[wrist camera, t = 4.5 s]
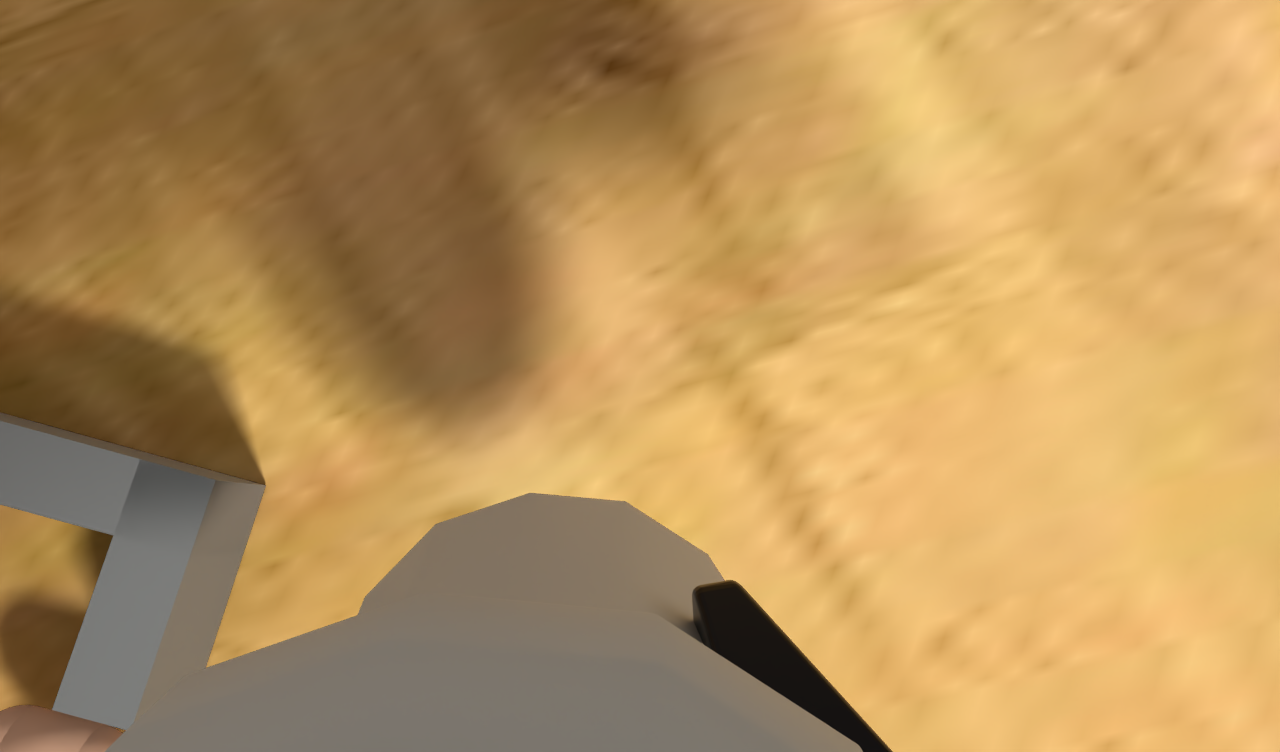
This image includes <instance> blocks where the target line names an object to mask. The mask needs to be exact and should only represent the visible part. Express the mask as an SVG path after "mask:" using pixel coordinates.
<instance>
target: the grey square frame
mask: <svg viewBox="0 0 1280 752" xmlns="http://www.w3.org/2000/svg"><path fill="white" fill-rule="evenodd" d="M265 487H266V485H263V484H259V483H255V482H252V481H248V480H244V479H241V478H237V477H233V476H230V475H226V474H223V473H219V472H215V471H212V470H208V469H204V468H201V467H197V466H193V465H190V464H186V463H183V462H179V461H175V460H172V459H168V458H164V457H161V456H157V455H153V454H150V453H146V452H143V451H139V450H135V449H132V448H128V447H124V446H121V445H117V444H113V443H110V442H106V441H103V440H99V439H95V438H92V437H88V436H84V435H81V434H77V433H73V432H70V431H66V430H63V429H59V428H55V427H52V426H48V425H44V424H41V423H37V422H33V421H30V420H26V419H22V418H19V417H15V416H12V415H8V414H4V413H1V412H0V505H4V506H8V507H11V508H15V509H19V510H22V511H26V512H30V513H33V514H37V515H40V516H44V517H48V518H51V519H55V520H59V521H62V522H66V523H70V524H73V525H77V526H81V527H84V528H88V529H92V530H95V531H99V532H103V533H106V534H110V535H113V538H112V541H111V543H110V546H109V549H108V552H107V555H106V558H105V561H104V563H103V566H102V569H101V572H100V575H99V578H98V580H97V583H96V586H95V589H94V592H93V595H92V597H91V600H90V603H89V606H88V609H87V612H86V615H85V617H84V620H83V623H82V626H81V629H80V632H79V634H78V637H77V640H76V643H75V646H74V649H73V651H72V654H71V657H70V660H69V663H68V666H67V669H66V671H65V674H64V677H63V680H62V683H61V686H60V688H59V691H58V694H57V697H56V700H55V703H54V705H53V708H52V710H54V711H58V712H61V713H65V714H69V715H72V716H76V717H80V718H83V719H87V720H91V721H94V722H98V723H102V724H105V725H109V726H113V727H116V728H120V729H124V730H127V729H128V728H129V727H130V726H131V725H133V724H134V723H135V722H136V721H137V720H138V719H139V718H140V717H141V716H142V715H143V714H144V713H146V712H147V711H148V710H149V709H150V708H151V707H152V706H153V705H154V704H155V703H156V702H157V701H159V700H160V699H161V698H162V697H163V696H164V695H165V694H166V693H167V692H168V691H169V690H170V689H172V688H173V687H174V686H175V685H176V684H177V683H178V682H179V681H180V680H181V679H182V678H183V677H185V676H186V675H187V674H190V673H193V672H196V671H199V670H202V669H205V668H206V665H207V662H208V659H209V656H210V653H211V650H212V647H213V644H214V641H215V638H216V635H217V632H218V629H219V626H220V623H221V620H222V617H223V614H224V611H225V608H226V605H227V602H228V599H229V596H230V593H231V589H232V586H233V583H234V580H235V577H236V574H237V571H238V568H239V565H240V562H241V559H242V556H243V553H244V550H245V547H246V544H247V541H248V538H249V535H250V532H251V529H252V526H253V523H254V520H255V517H256V514H257V511H258V508H259V505H260V502H261V499H262V496H263V493H264V490H265Z"/></svg>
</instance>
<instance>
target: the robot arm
mask: <svg viewBox="0 0 1280 752" xmlns="http://www.w3.org/2000/svg"><path fill="white" fill-rule="evenodd" d="M692 605H693V620H694V624H695V626H696V628H697V631H698V633H699V635H700V637H701V640H702V642H703V644H704V645H705V646H707V647H708V648H710V649H711V650H713V651H714V652H716V653H717V654H719V655H720V656H722V657H724V658H725V659H727V660H728V661H730V662H731V663H733V664H734V665H736V666H737V667H739V668H741V669H742V670H744V671H745V672H747V673H748V674H750V675H751V676H753V677H754V678H756V679H758V680H759V681H761V682H762V683H764V684H765V685H767V686H768V687H770V688H771V689H773V690H775V691H776V692H778V693H779V694H781V695H782V696H784V697H785V698H787V699H788V700H790V701H792V702H793V703H795V704H796V705H798V706H799V707H801V708H802V709H804V710H805V711H807V712H809V713H810V714H812V715H813V716H815V717H816V718H818V719H819V720H821V721H822V722H824V723H826V724H827V725H829V726H830V727H832V728H833V729H835V730H836V731H838V732H839V733H841V734H842V735H844V736H846V737H847V738H849V739H850V740H852V741H853V742H855V743H856V744H858V745H859V746H860V748H861V749H862V751H863V752H892V750H891V749H890V748H889V747H888V746H887V745H886V744H885V743H884V742H883V741H882V739H881V738H880V737H879V736H878V735H877V734H876V733H875V732H874V731H873V730H872V728H871V727H870V726H869V725H868V724H867V723H866V722H865V721H864V720H863V719H862V717H861V716H860V715H859V714H858V713H857V712H856V711H855V710H854V709H853V708H852V706H851V705H850V704H849V703H848V702H847V701H846V700H845V699H844V698H843V697H842V695H841V694H840V693H839V692H838V691H837V690H836V689H835V688H834V687H833V686H832V685H831V683H830V682H829V681H828V680H827V679H826V678H825V677H824V676H823V675H822V674H821V672H820V671H819V670H818V669H817V668H816V667H815V666H814V665H813V664H812V663H811V661H810V660H809V659H808V658H807V657H806V656H805V655H804V654H803V653H802V652H801V650H800V649H799V648H798V647H797V646H796V645H795V644H794V643H793V642H792V641H791V639H790V638H789V637H788V636H787V635H786V634H785V633H784V632H783V631H782V630H781V629H780V627H779V626H778V625H777V624H776V623H775V622H774V621H773V620H772V619H771V618H770V616H769V615H768V614H767V613H766V612H765V611H764V610H763V609H762V608H761V607H760V605H759V604H758V603H757V602H756V601H755V600H754V599H753V598H752V597H751V596H750V594H749V593H748V592H747V591H746V590H745V589H744V588H743V587H742V586H741V585H740V584H739V583H737V582H736V581H733V580H726V581H720V582H714V583H709V584H703V585H699V586H697V587H695V588H694V589H693V592H692Z"/></svg>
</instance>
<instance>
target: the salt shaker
mask: <svg viewBox="0 0 1280 752" xmlns="http://www.w3.org/2000/svg"><path fill="white" fill-rule="evenodd" d="M720 581H725V580H724V579H723V577H722V576H721V574H720V572H719V571H718V569H717V568H716V566H715V565H714V563H713V562H712V560H711V559H710V557H709V555H708V554H706V553H705V552H703V551H702V550H700V549H698V548H697V547H695V546H694V545H692V544H691V543H689V542H688V541H686V540H684V539H683V538H681V537H680V536H678V535H677V534H675V533H674V532H672V531H671V530H669V529H667V528H666V527H664V526H663V525H661V524H660V523H658V522H657V521H655V520H653V519H652V518H650V517H649V516H647V515H646V514H644V513H643V512H641V511H639V510H638V509H636V508H635V507H633V506H632V505H630V504H629V503H627V502H625V501H614V500H603V499H592V498H581V497H570V496H559V495H548V494H537V493H528V494H525V495H522V496H519V497H516V498H513V499H510V500H507V501H504V502H501V503H498V504H495V505H492V506H489V507H486V508H483V509H480V510H477V511H474V512H471V513H468V514H465V515H462V516H459V517H456V518H453V519H450V520H447V521H444V522H441V523H438V524H435V525H434V526H433V527H432V529H431V530H430V531H429V532H428V533H427V534H426V535H425V536H424V537H423V538H422V539H421V540H420V541H419V542H418V543H417V544H416V545H415V546H414V547H413V548H412V549H411V550H410V551H409V552H408V553H407V554H406V555H405V556H404V557H403V558H402V559H401V560H400V561H399V562H398V564H397V565H396V566H395V567H394V568H393V569H392V570H391V571H390V572H389V573H388V574H387V575H386V576H385V577H384V578H383V579H382V580H381V581H380V582H379V583H378V584H377V585H376V586H375V587H374V588H373V589H372V590H371V591H370V592H369V593H368V594H367V595H366V596H365V598H364V601H363V603H362V606H361V608H360V610H359V613H358V615H357V616H354V617H351V618H348V619H346V620H343V621H340V622H337V623H334V624H331V625H328V626H325V627H323V628H320V629H317V630H314V631H311V632H308V633H305V634H302V635H300V636H297V637H294V638H291V639H288V640H285V641H282V642H279V643H277V644H274V645H271V646H268V647H265V648H262V649H259V650H256V651H253V652H251V653H248V654H245V655H242V656H239V657H236V658H233V659H230V660H228V661H225V662H222V663H219V664H216V665H213V666H210V667H207V668H205V669H202V670H199V671H196V672H193V673H190V674H187V675H186V676H185V677H183V678H182V679H181V680H180V681H179V682H178V683H177V684H176V685H175V686H174V687H173V688H172V689H170V690H169V691H168V692H167V693H166V694H165V695H164V696H163V697H162V698H161V699H160V700H159V701H157V702H156V703H155V704H154V705H153V706H152V707H151V708H150V709H149V710H148V711H147V712H146V713H144V714H143V715H142V716H141V717H140V718H139V719H138V720H137V721H136V722H135V723H134V724H133V725H131V726H130V727H129V728H128V729H127V730H126V731H125V732H124V733H123V734H122V735H121V736H120V737H119V738H118V739H117V740H116V741H115V742H114V743H113V744H112V745H111V746H110V747H109V748H108V749H107V750H106V751H105V752H863V751H862V749H861V748H860V746H859V745H858V744H856V743H855V742H853V741H852V740H850V739H849V738H847V737H846V736H844V735H842V734H841V733H839V732H838V731H836V730H835V729H833V728H832V727H830V726H829V725H827V724H826V723H824V722H822V721H821V720H819V719H818V718H816V717H815V716H813V715H812V714H810V713H809V712H807V711H805V710H804V709H802V708H801V707H799V706H798V705H796V704H795V703H793V702H792V701H790V700H788V699H787V698H785V697H784V696H782V695H781V694H779V693H778V692H776V691H775V690H773V689H771V688H770V687H768V686H767V685H765V684H764V683H762V682H761V681H759V680H758V679H756V678H754V677H753V676H751V675H750V674H748V673H747V672H745V671H744V670H742V669H741V668H739V667H737V666H736V665H734V664H733V663H731V662H730V661H728V660H727V659H725V658H724V657H722V656H720V655H719V654H717V653H716V652H714V651H713V650H711V649H710V648H708V647H707V646H705V645H704V644H703V642H702V640H701V637H700V635H699V633H698V631H697V628H696V626H695V624H694V620H693V605H692V592H693V589H694V588H695V587H697V586H699V585H703V584H709V583H714V582H720Z"/></svg>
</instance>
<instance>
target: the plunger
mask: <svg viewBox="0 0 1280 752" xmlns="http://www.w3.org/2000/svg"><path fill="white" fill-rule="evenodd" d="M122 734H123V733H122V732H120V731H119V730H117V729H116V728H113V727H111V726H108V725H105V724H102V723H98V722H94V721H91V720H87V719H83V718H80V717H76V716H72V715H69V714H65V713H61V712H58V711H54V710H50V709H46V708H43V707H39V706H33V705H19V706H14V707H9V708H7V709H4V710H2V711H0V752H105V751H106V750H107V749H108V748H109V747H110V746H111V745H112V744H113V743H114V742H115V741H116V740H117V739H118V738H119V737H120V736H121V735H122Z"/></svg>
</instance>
